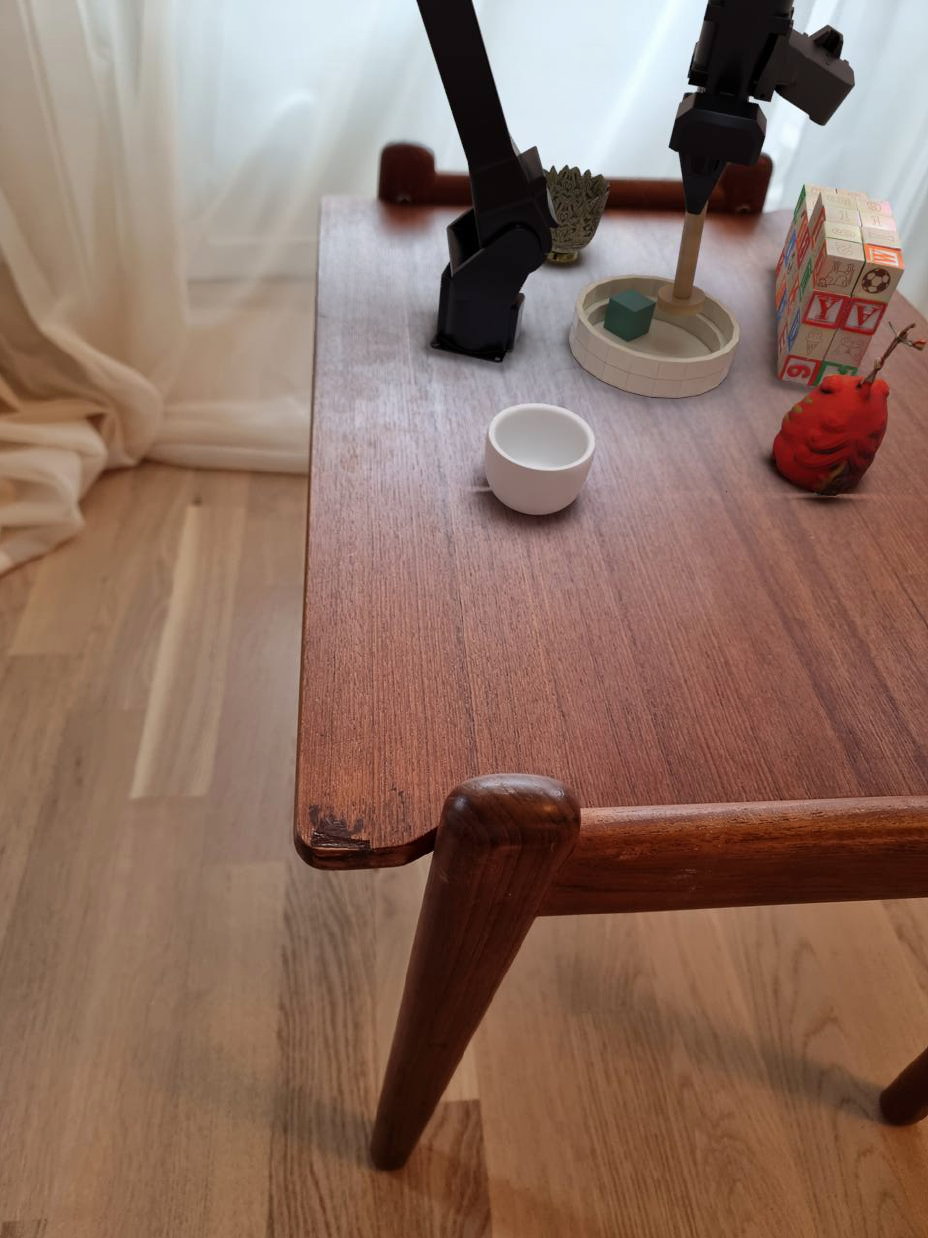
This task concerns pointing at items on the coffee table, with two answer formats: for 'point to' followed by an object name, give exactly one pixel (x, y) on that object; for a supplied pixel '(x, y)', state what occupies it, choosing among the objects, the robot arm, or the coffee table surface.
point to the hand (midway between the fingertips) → (694, 208)
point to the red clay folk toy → (837, 428)
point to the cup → (574, 210)
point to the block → (629, 315)
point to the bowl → (654, 342)
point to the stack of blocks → (834, 282)
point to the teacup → (538, 457)
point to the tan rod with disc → (685, 272)
